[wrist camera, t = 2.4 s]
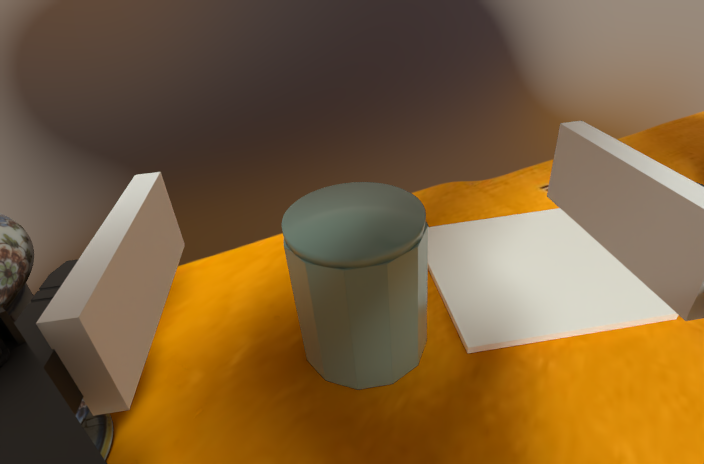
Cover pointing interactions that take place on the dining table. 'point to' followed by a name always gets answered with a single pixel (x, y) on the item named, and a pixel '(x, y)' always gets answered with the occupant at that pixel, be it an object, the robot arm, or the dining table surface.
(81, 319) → the robot arm
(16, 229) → the apothecary jar
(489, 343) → the board
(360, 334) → the lidded green canister
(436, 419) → the dining table surface
